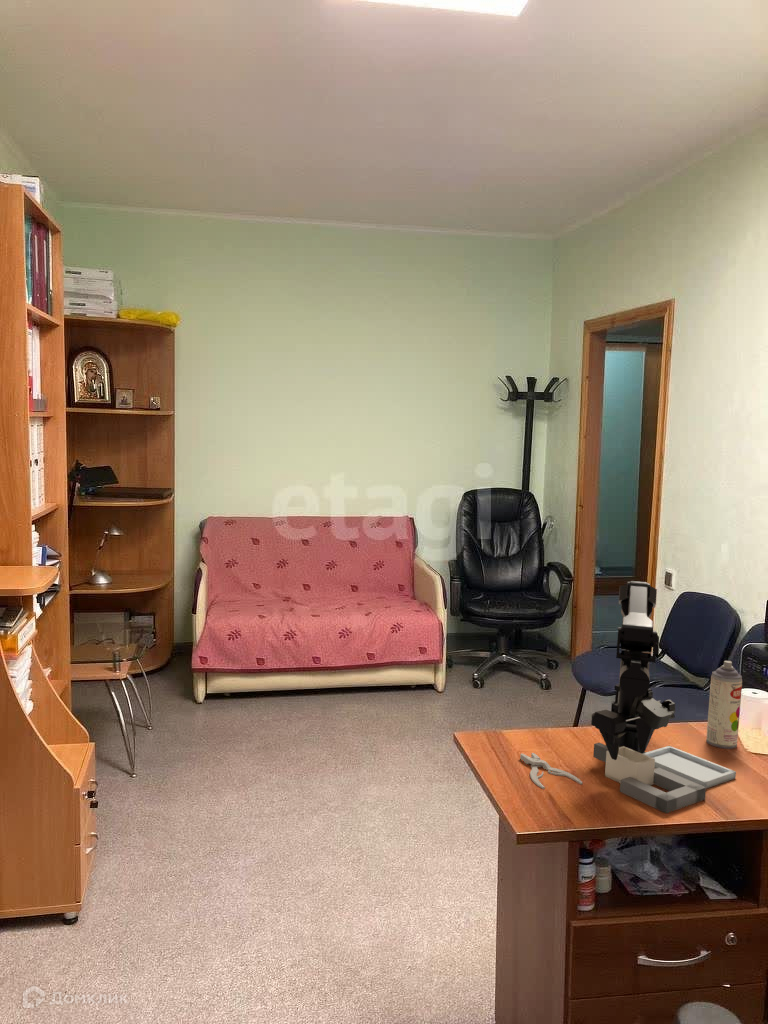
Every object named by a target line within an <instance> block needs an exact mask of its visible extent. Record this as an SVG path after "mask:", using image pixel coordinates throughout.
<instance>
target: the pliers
mask: <svg viewBox="0 0 768 1024" xmlns="http://www.w3.org/2000/svg"><path fill="white" fill-rule="evenodd" d="M530 756H531V757H530ZM530 756H528V755H527V754H525V753H523V752H522V753H520V757H519V759H521V760H520V761H522V760H523V761H524V762H523V761H522V762H523V763H525V764H526V765H527V764H528V765H530V768H531V770H530V771H529V777H530V779H531V781H532V782H533V783H534V784H535V785H536V786H537V787H538V788H540V789H542V790H544V789H545V788H546V787H545V786H544V785H543V784H542V783H541V781H540V780H539V779H541V778H542V777H543V776H544V771H542V772H541V774H540V775H538V774H539V768H538V767H540V768H543V770H545V769H546V771H547V770H548V771H547V773H548V774H550V775H554V776H562V777H566V778H568V779H571V780H573V781H574V782H576V783H577V784H579V785H583V781H582V780H581V779H580V778H579V777H577V776H575V775H573V774H572V773H570V772H568V771H565V770H563V769H560V768H556V767H551V765H550V764H549V763H548V762H547V761H546V760H543V759H541V757H539V755H537V754H536V753H535V752H531V755H530ZM551 771H552V772H551Z"/></svg>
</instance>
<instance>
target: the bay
mask: <svg viewBox="0 0 768 1024" xmlns="http://www.w3.org/2000/svg"><path fill="white" fill-rule="evenodd" d="M619 785H620V786H619V793H622V794H624V795H626V796H628V797H631V798H632V799H634V800H636V801H638V802H641V803H643V804H646V805H647V806H649V807H652V808H654V809H656V810H658V811H660V812H662V813H664V812H665V813H664V814H666V813H667V814H669V812H670V813H672V812H674V810H675V811H678V810H680V809H683V808H686V807H688V805H689V806H691V805H693V804H696V803H697V804H698V802H702V801H705V800H706V794H707V793H706V791H707V789H706V787H704V786H701V785H699V784H697V783H694V782H692V781H690V780H687V779H685V778H682V777H680V776H678V775H675V774H673V773H671V772H668V771H666V770H663V769H661V768H656V769H655V768H654V780H653V785H655V786H657V787H659V788H662V789H664V790H667V792H665V791H664V790H661V789H659V788H657V787H654V786H652V785H648V784H645V783H643V782H641V781H639V780H637V779H634V778H632V777H628V778H624V779H621V781H620V783H619ZM685 806H686V807H685ZM682 807H683V808H682ZM677 809H678V810H677ZM671 811H672V812H671Z"/></svg>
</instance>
